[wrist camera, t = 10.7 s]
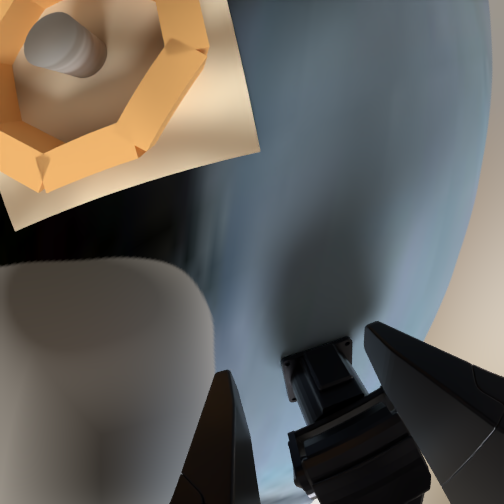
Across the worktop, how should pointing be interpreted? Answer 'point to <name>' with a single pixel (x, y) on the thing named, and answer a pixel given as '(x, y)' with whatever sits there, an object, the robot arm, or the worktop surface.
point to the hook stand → (123, 96)
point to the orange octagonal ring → (113, 136)
